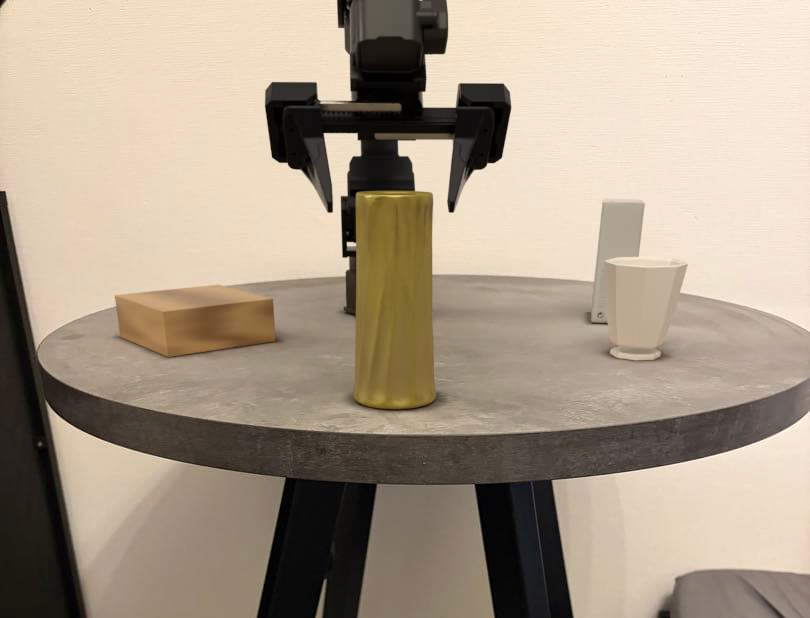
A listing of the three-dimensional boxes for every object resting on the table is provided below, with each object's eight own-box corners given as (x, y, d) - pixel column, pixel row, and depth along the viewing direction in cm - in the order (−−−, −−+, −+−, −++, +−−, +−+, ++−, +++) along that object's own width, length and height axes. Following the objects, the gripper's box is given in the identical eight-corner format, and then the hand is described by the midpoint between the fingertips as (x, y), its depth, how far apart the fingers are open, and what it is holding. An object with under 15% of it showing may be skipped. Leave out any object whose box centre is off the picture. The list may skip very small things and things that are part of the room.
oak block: (221, 323, 91) (218, 284, 89) (275, 341, 83) (273, 298, 81) (120, 337, 84) (114, 295, 83) (167, 357, 77) (162, 311, 75)
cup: (594, 361, 76) (603, 265, 72) (596, 338, 84) (605, 251, 81) (677, 366, 74) (691, 268, 71) (671, 342, 83) (683, 253, 80)
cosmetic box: (631, 325, 91) (645, 202, 85) (590, 323, 91) (601, 201, 86) (630, 314, 96) (642, 198, 91) (590, 313, 97) (601, 198, 92)
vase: (352, 388, 67) (348, 190, 61) (431, 387, 68) (434, 190, 62) (355, 411, 62) (350, 195, 56) (440, 409, 62) (445, 195, 56)
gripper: (258, -43, 63) (253, 122, 57) (514, -40, 64) (532, 123, 58) (274, 86, 73) (270, 236, 68) (493, 87, 74) (507, 236, 69)
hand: (391, 208), depth 65 cm, fingers open, 9 cm apart
